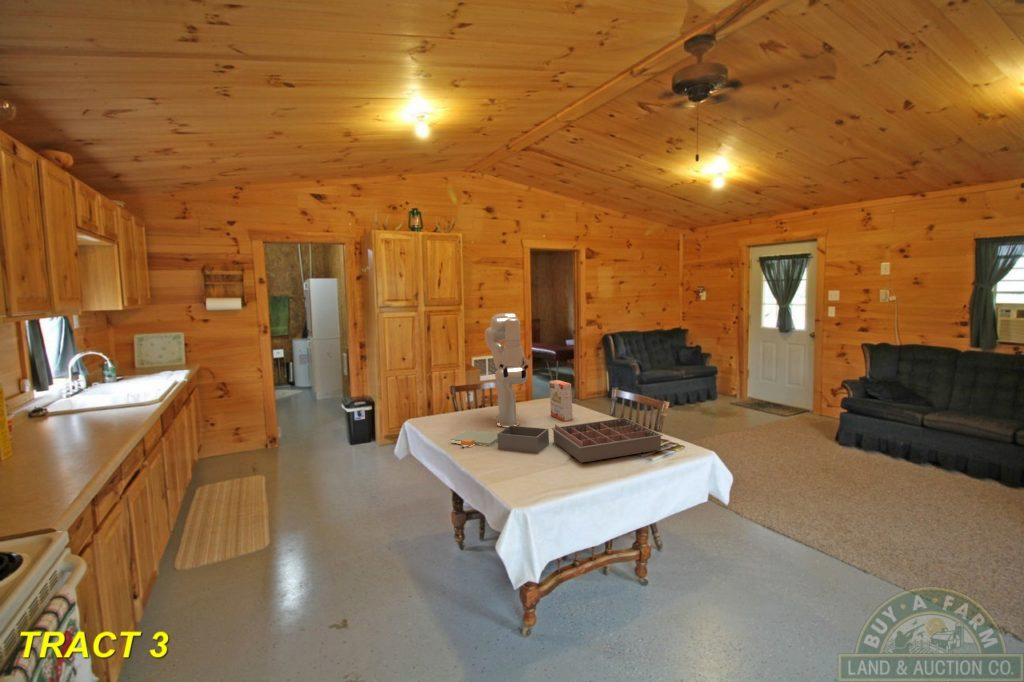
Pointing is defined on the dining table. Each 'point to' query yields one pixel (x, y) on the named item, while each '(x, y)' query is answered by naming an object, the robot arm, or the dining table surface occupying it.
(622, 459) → the dining table surface
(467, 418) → the dining table surface
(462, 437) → the lid
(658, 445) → the organizer tray
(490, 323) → the robot arm
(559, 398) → the cracker box
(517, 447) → the tub
